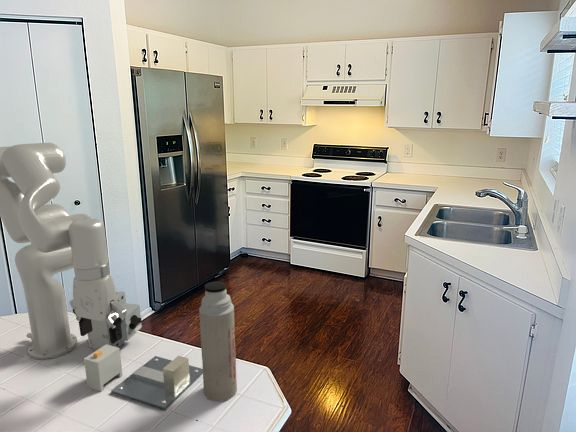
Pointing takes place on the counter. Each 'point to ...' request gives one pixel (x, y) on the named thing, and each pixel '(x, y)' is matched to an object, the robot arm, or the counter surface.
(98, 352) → the block
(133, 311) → the circuit breaker
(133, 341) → the counter surface
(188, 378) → the mounting plate
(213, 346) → the thermos bottle
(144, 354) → the counter surface
